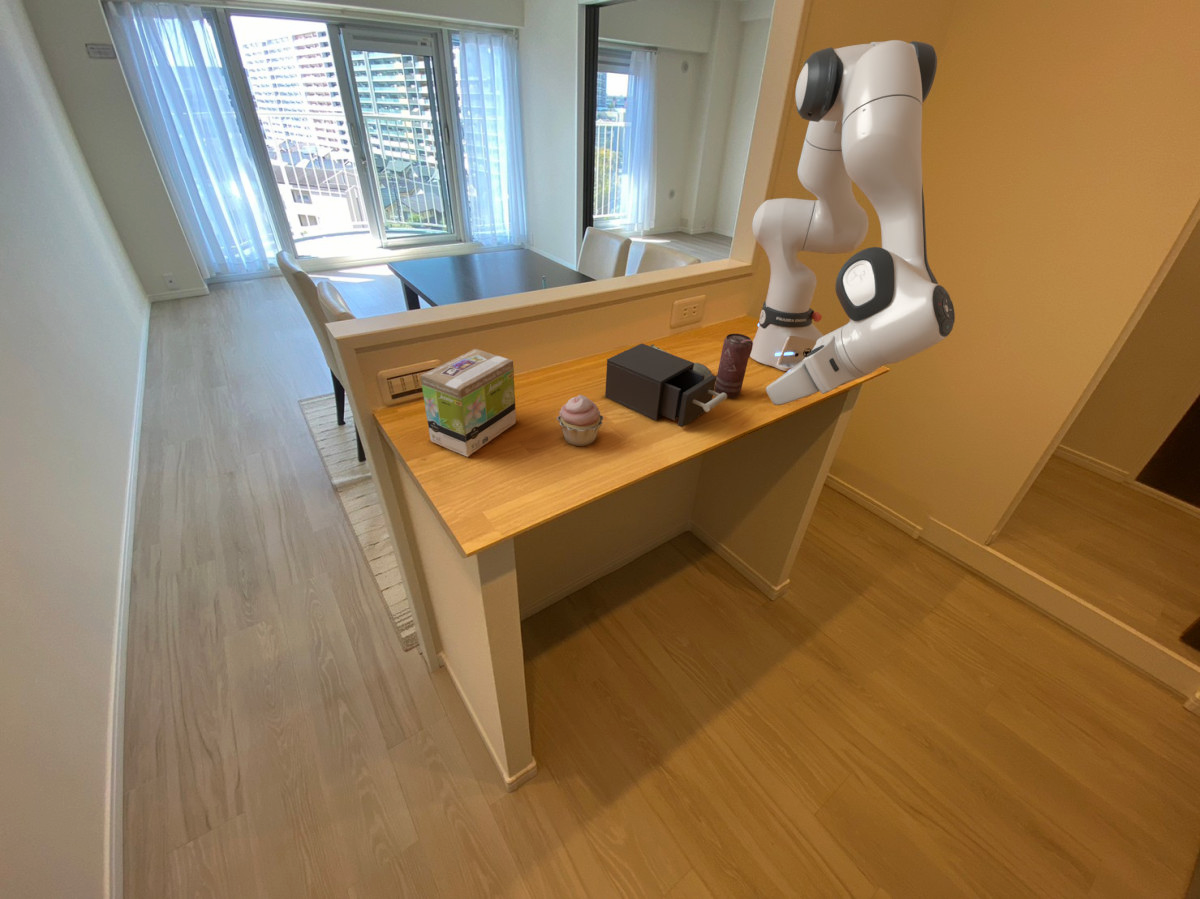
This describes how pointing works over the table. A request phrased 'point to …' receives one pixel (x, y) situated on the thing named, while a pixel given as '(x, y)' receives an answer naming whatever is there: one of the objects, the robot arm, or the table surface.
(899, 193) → the robot arm
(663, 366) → the black drawer box
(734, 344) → the can
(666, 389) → the dark drawer with handle
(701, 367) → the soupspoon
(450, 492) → the table surface
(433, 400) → the tea box
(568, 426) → the cupcake
